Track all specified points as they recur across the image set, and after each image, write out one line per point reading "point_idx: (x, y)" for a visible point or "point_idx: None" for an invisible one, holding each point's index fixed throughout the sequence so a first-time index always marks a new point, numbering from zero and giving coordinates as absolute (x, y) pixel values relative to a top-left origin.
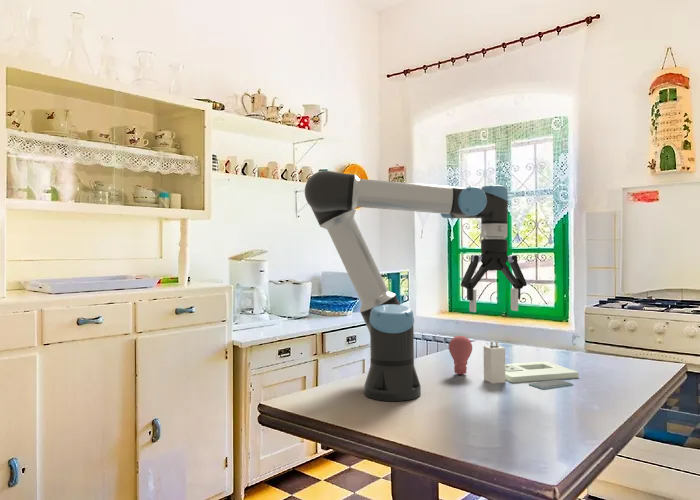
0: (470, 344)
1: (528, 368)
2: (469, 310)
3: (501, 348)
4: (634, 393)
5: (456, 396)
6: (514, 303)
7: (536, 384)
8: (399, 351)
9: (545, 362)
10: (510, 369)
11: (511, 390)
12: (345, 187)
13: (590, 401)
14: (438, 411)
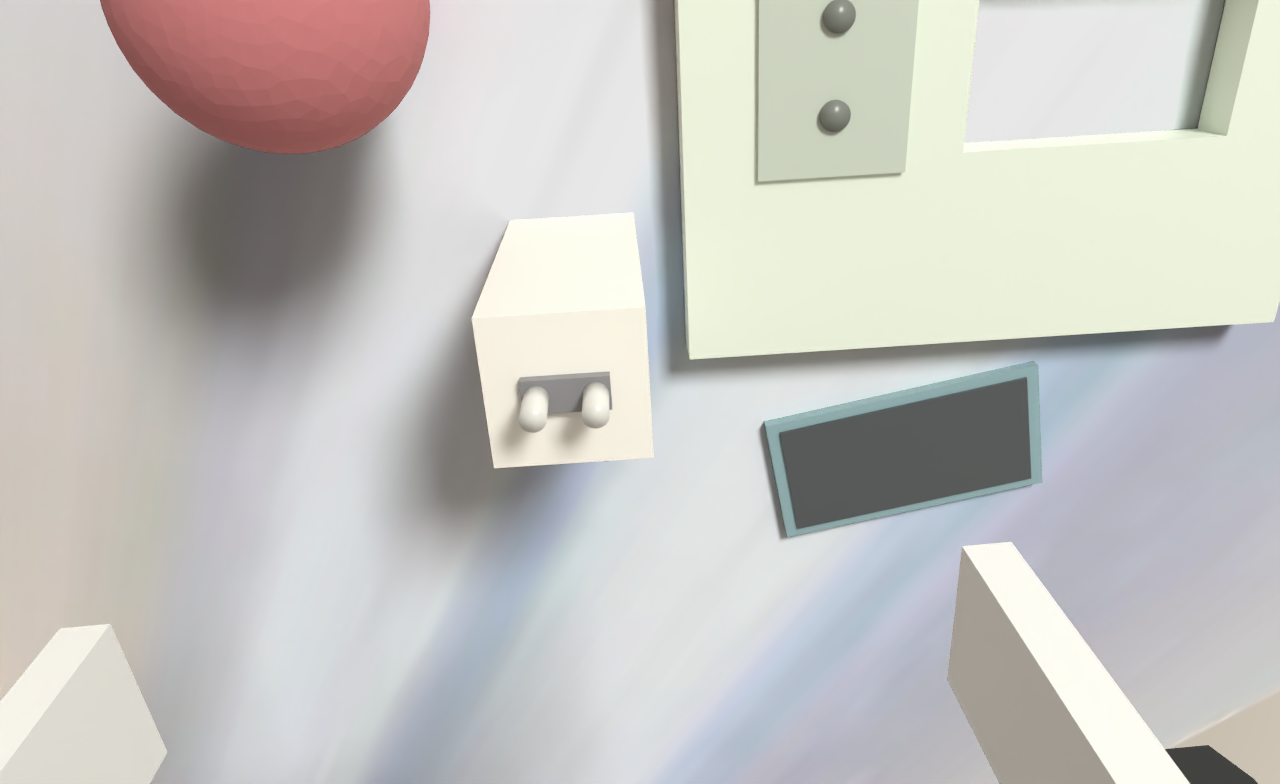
0: (371, 111)
1: None
2: (52, 642)
3: (612, 458)
4: (1203, 671)
5: (197, 563)
6: (1008, 752)
7: (793, 468)
8: None
9: None
10: (807, 131)
11: (583, 511)
12: None
13: (875, 741)
14: None
